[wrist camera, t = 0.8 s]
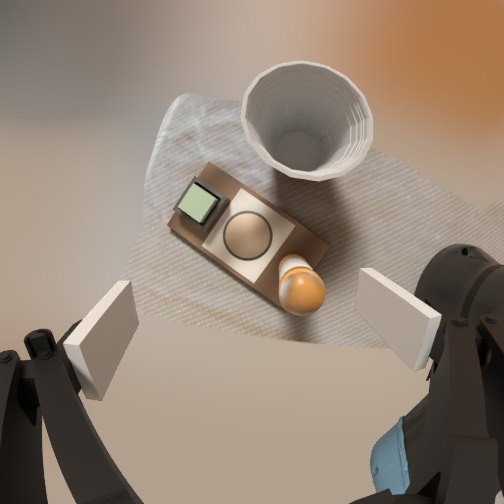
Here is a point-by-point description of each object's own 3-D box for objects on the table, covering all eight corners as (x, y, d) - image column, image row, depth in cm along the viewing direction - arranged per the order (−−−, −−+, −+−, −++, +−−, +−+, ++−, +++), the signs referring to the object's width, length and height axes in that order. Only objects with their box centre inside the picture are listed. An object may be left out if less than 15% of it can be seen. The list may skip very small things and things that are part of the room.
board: (329, 245, 31) (334, 247, 28) (283, 307, 32) (284, 314, 29) (211, 163, 31) (204, 157, 28) (170, 225, 33) (160, 225, 30)
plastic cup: (330, 210, 31) (359, 201, 19) (241, 181, 31) (220, 155, 19) (353, 129, 29) (386, 85, 18) (269, 102, 30) (264, 46, 18)
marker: (313, 264, 30) (334, 287, 18) (296, 288, 31) (306, 324, 19) (290, 247, 30) (297, 260, 19) (272, 271, 31) (269, 299, 19)
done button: (219, 200, 30) (215, 198, 28) (204, 222, 30) (199, 222, 28) (198, 186, 30) (193, 183, 28) (183, 208, 30) (177, 206, 28)
